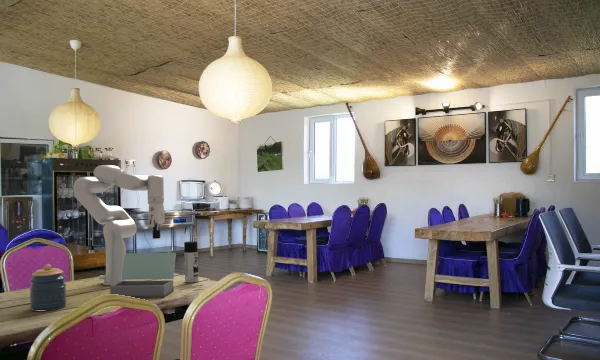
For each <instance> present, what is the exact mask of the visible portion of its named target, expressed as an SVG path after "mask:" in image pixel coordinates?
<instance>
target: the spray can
mask: <svg viewBox="0 0 600 360" xmlns="http://www.w3.org/2000/svg"><path fill="white" fill-rule="evenodd" d="M183 244H184V246H183V249H184V250H183V252H184V253H183V254H184V279H185V280H184V281H185V283H187V282H188V283H189V284H190V283H192V284H193V283H198V282H199V278H200V276H199V251H198V250H199V249H198V245H199V244H198V241H193V240H191V241H184V242H183Z"/></svg>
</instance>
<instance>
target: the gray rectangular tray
mask: <svg viewBox="0 0 600 360" xmlns="http://www.w3.org/2000/svg"><path fill="white" fill-rule="evenodd" d="M109 289H110V290H109V295H110V294H119V295H125V296H131V297H137V298H136V299H138V298H140V299H142V298H144V299H146V297H147V298H148V299H150V298H149V297H157V299H158V297H160V298H163V299H164V298H167V297H168V296H169V295H170V294H172V293H173V292H174V279H160V280H130V281H121V282H119V283H117V284H114V285H109ZM160 298H159V299H160Z"/></svg>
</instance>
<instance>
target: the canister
mask: <svg viewBox="0 0 600 360" xmlns="http://www.w3.org/2000/svg"><path fill="white" fill-rule="evenodd" d="M64 272H65V271H64V270H62V269H61V268H58V267H52V265H51V264H50V263H47V264H44V266H43V268H41V269H37V270H35V272H32V273H31V275H32V278H30V279H29V282H30V287H29V297H30V299H29V300H30V301H29V308H30V310H31V309H33V310H51V311H54V310H53V309H56V310H59V308H60V309H63V308H64V307H66V304H67V295H66V294H67V292H66V291H67V290H66V288H67V284H66V281H65V280H66V278H67V277H66V275H64Z"/></svg>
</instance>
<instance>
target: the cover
mask: <svg viewBox="0 0 600 360" xmlns="http://www.w3.org/2000/svg"><path fill="white" fill-rule="evenodd" d="M176 256H177V253H176V252H146V253H145V252H141V253H139V252H138V253H137V252H136V253H133V252H132V253H130V252H129V253H127V252H126V253H125V256H124V264H123V273H122V280H130V281H147V280H174V279H175V267H176V266H175V265H176Z"/></svg>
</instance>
